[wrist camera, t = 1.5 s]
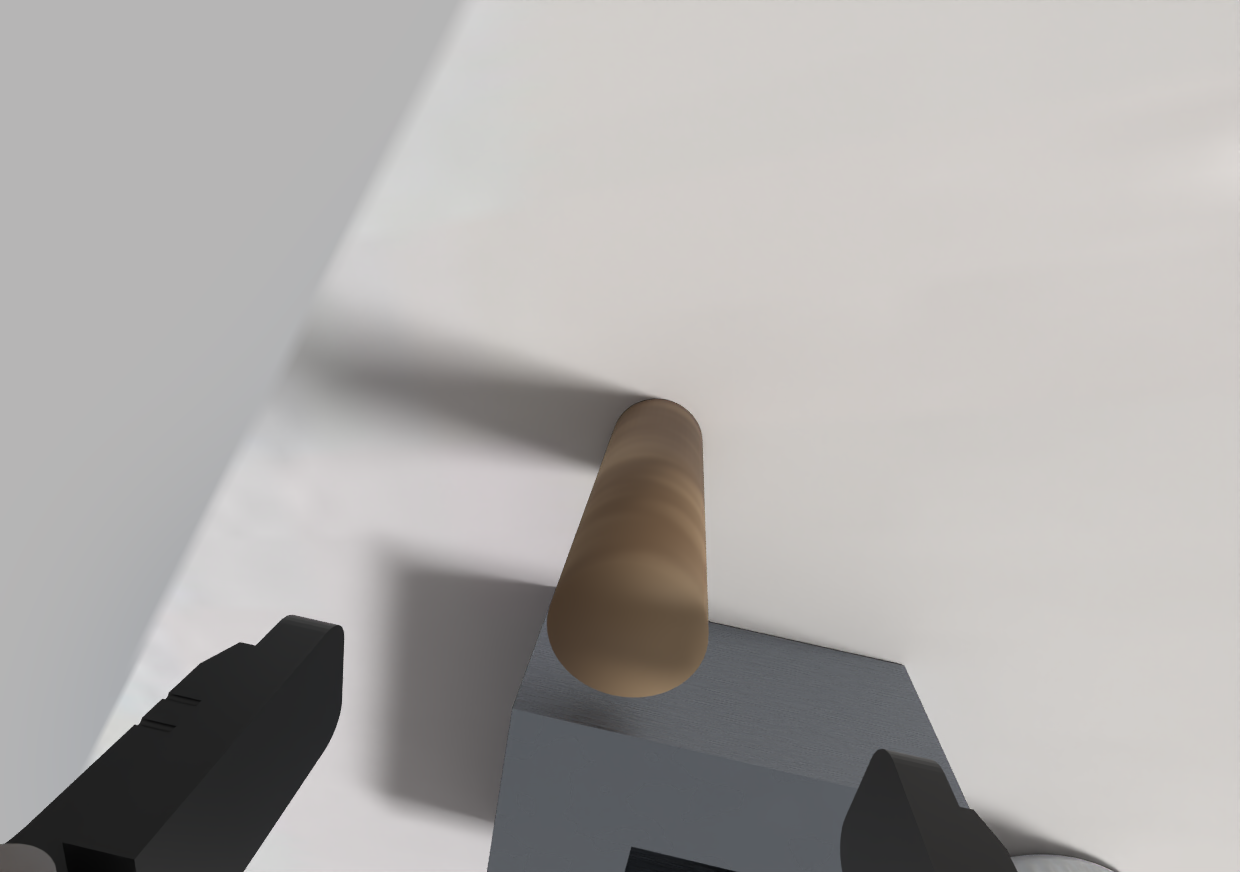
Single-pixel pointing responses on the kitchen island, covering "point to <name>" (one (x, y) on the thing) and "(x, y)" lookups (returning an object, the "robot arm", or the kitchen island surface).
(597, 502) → the walnut peg
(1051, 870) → the ramekin
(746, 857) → the hole block
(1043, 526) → the kitchen island surface
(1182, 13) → the kitchen island surface
